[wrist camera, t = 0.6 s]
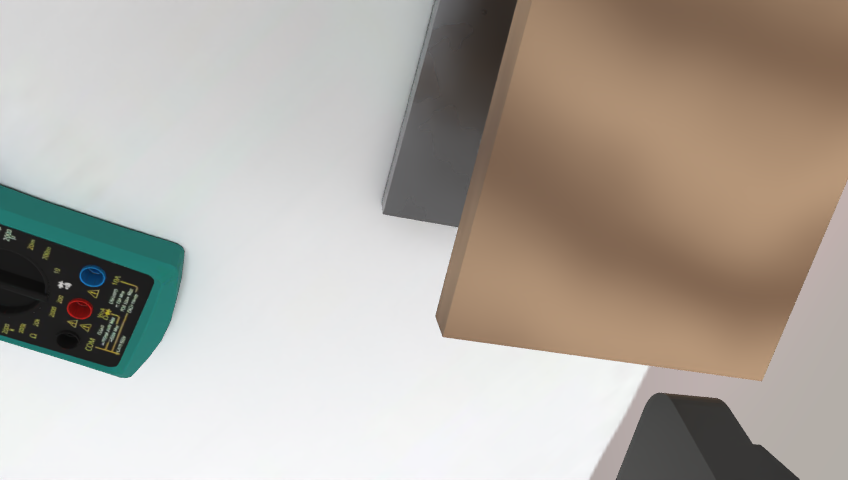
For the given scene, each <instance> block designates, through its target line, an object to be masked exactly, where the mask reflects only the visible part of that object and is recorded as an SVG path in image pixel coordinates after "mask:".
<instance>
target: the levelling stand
mask: <svg viewBox="0 0 848 480" xmlns="http://www.w3.org/2000/svg"><path fill="white" fill-rule="evenodd" d="M516 4H517V0H435V3H434V7H433V10H432V14H431V18H430V22H429V26H428V29H427V33H426V37H425V41H424V45H423V48H422V52H421V56H420V60H419V63H418V67H417V71H416V75H415V79H414V82H413V86H412V90H411V94H410V98H409V101H408V105H407V109H406V113H405V116H404V120H403V124H402V128H401V132H400V135H399V139H398V143H397V147H396V151H395V154H394V158H393V162H392V166H391V169H390V173H389V177H388V181H387V185H386V188H385V192H384V196H383V200H382V211H383V214H385V215H390V216H396V217H402V218H408V219H414V220H420V221H425V222H431V223H437V224H443V225H449V226H454V227H459V223H460V219H461V215H462V212H463V208H464V204H465V200H466V196H467V192H468V189H469V185H470V181H471V177H472V173H473V169H474V165H475V162H476V158H477V154H478V150H479V146H480V142H481V138H482V135H483V131H484V127H485V123H486V119H487V115H488V112H489V108H490V104H491V100H492V96H493V92H494V88H495V85H496V81H497V77H498V73H499V69H500V65H501V61H502V58H503V54H504V50H505V46H506V42H507V38H508V35H509V31H510V27H511V23H512V19H513V15H514V11H515V8H516Z"/></svg>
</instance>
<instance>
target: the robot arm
mask: <svg viewBox="0 0 848 480" xmlns="http://www.w3.org/2000/svg"><path fill="white" fill-rule="evenodd" d="M616 480H799V478H798V477H796V476H795V475H794V474H793V473H792V472H791V471H790V470H789V469H787V468H786V467H785V466H784V465H783V464H782V463H781V462H779V461H778V460H777V459H776V458H775V457H774V456H773V455H771V454H770V453H769V452H768V451H767V450H766V449H765V448H764V447H762V446H761V445H755V444H752V442H751V441H750V439H749V438H748V436H747V435H746V433H745V432H744V430H743V428H742V427H741V426H740V424H739V422H738V421H737V419H736V418H735V417H734V415H733V413H732V412H731V410H730V409H729V407H728V406H727V405H726V404H725V403H724V402H723V401H722V400H720V399H718V398H709V397H699V396H688V395H678V394H667V393H657V394H654V395H653V396H652V397H651V398H650V399H649V400H648V402H647V404H646V405H645V408H644V410H643V412H642V415H641V418H640V420H639V422H638V425H637V428H636V430H635V433H634V435H633V438H632V440H631V443H630V445H629V448H628V450H627V453H626V455H625V458H624V461H623V463H622V465H621V468H620V470H619V473H618V476H617V478H616Z"/></svg>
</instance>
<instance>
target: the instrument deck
mask: <svg viewBox="0 0 848 480" xmlns="http://www.w3.org/2000/svg"><path fill="white" fill-rule="evenodd" d="M847 180H848V0H517V4H516V8H515V11H514V15H513V19H512V23H511V27H510V31H509V35H508V38H507V42H506V46H505V50H504V54H503V58H502V61H501V65H500V69H499V73H498V77H497V81H496V85H495V88H494V92H493V96H492V100H491V104H490V108H489V112H488V115H487V119H486V123H485V127H484V131H483V135H482V138H481V142H480V146H479V150H478V154H477V158H476V162H475V165H474V169H473V173H472V177H471V181H470V185H469V189H468V192H467V196H466V200H465V204H464V208H463V212H462V215H461V219H460V223H459V227H458V231H457V235H456V239H455V242H454V246H453V250H452V254H451V258H450V262H449V266H448V269H447V273H446V277H445V281H444V285H443V289H442V293H441V296H440V300H439V304H438V308H437V312H436V316H435V317H436V319H437V322H438V325H439V328H440V331H441V333H442V336H443V337H447V338H454V339H461V340H468V341H476V342H483V343H490V344H497V345H505V346H512V347H519V348H526V349H533V350H541V351H548V352H555V353H562V354H569V355H577V356H584V357H591V358H598V359H605V360H613V361H620V362H627V363H634V364H642V365H649V366H656V367H664V368H671V369H678V370H685V371H692V372H699V373H707V374H714V375H721V376H728V377H735V378H743V379H750V380H757V381H762V380H763V377H764V375H765V373H766V370H767V368H768V366H769V363H770V361H771V359H772V356H773V354H774V352H775V349H776V347H777V345H778V342H779V340H780V337H781V335H782V333H783V330H784V328H785V326H786V323H787V321H788V319H789V316H790V314H791V311H792V309H793V307H794V305H795V302H796V300H797V298H798V295H799V293H800V291H801V288H802V286H803V283H804V281H805V279H806V276H807V274H808V272H809V269H810V267H811V265H812V262H813V260H814V258H815V255H816V253H817V250H818V248H819V246H820V243H821V241H822V238H823V236H824V234H825V232H826V229H827V227H828V225H829V222H830V220H831V218H832V215H833V213H834V211H835V208H836V206H837V204H838V201H839V199H840V196H841V194H842V192H843V189H844V187H845V185H846V182H847Z"/></svg>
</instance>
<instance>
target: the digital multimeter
mask: <svg viewBox="0 0 848 480" xmlns="http://www.w3.org/2000/svg"><path fill="white" fill-rule="evenodd" d="M1 224H2V225H1ZM4 225H5V226H4ZM7 226H8V227H7ZM10 227H11V228H10ZM13 228H14V229H13ZM16 229H17V230H16ZM18 230H20V231H18ZM21 231H23V232H21ZM24 232H26V233H24ZM27 233H29V234H27ZM30 234H32V235H30ZM33 235H35V236H33ZM36 236H38V237H36ZM39 237H41V238H39ZM42 238H43V239H42ZM45 239H46V240H45ZM48 240H49V241H48ZM51 241H52V242H51ZM54 242H55V243H54ZM57 243H58V244H57ZM60 244H61V245H60ZM63 245H64V246H63ZM66 246H67V247H66ZM69 247H70V248H69ZM71 248H73V249H71ZM74 249H76V250H74ZM77 250H78V251H77ZM80 251H81V252H80ZM83 252H84V253H83ZM184 252H185V251H184V250H183V248H182V247H181V246H180V245H178V244H176V243H173V242H169V241H166V240H163V239H160V238H156V237H153V236H150V235H146V234H143V233H140V232H136V231H133V230H130V229H127V228H123V227H120V226H117V225H114V224H111V223H108V222H105V221H102V220H99V219H97V218H94V217H91V216H88V215H85V214H82V213H79V212H76V211H72V210H69V209H66V208H63V207H60V206H57V205H54V204H51V203H48V202H45V201H42V200H39V199H37V198H34V197H31V196H29V195H26V194H23V193H20V192H18V191H15V190H12V189H10V188H7V187H4V186H1V185H0V340H1V341H5V342H8V343H11V344H14V345H18V346H21V347H24V348H27V349H31V350H34V351H37V352H41V353H44V354H47V355H50V356H54V357H57V358H60V359H64V360H67V361H70V362H73V363H77V364H80V365H83V366H86V367H89V368H92V369H95V370H98V371H102V372H105V373H108V374H111V375H114V376H117V377H121V378H128V377H131V376H132V375H133V374H134V373H135V372H136V371H137V370H138V369H139V368H140V366H141V365H142V364H143V363H144V362H145V361H146V360H147V359H148V358H149V357H150V355H151V354H152V352H153V351H154V350H155V348H156V347H157V346H158V344H159V343H160V342H161V340H162V338H163V336H164V334H165V332H166V330H167V328H168V326H169V323H170V321H171V318H172V314H173V310H174V307H175V303H176V299H177V295H178V291H179V286H180V282H181V278H182V269H183V261H184ZM86 253H87V254H86ZM89 254H90V255H89ZM124 266H125V267H124ZM127 267H128V268H127ZM48 283H49V284H48ZM47 297H48V298H47ZM147 299H148V300H147ZM143 308H144V309H143ZM132 333H133V334H132ZM128 342H129V343H128Z"/></svg>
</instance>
